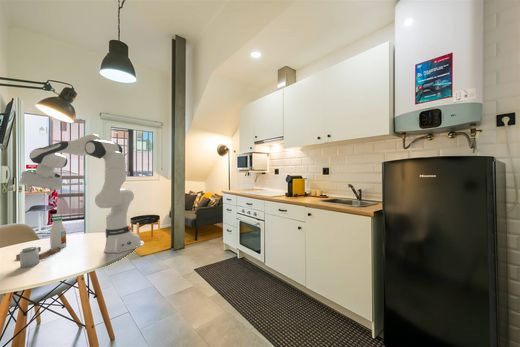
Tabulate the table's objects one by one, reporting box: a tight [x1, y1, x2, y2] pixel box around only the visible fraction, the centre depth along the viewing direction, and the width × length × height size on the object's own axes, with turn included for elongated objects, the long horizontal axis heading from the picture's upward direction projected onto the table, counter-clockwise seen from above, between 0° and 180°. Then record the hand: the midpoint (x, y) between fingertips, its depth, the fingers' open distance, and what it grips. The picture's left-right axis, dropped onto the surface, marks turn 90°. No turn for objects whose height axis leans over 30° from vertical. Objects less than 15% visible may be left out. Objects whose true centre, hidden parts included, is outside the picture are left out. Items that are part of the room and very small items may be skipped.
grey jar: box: [19, 246, 40, 269], centre depth 117 cm, size 7×7×9 cm
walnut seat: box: [15, 246, 61, 260], centre depth 130 cm, size 12×14×2 cm
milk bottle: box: [49, 216, 67, 250], centre depth 142 cm, size 8×8×20 cm
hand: (39, 193), depth 140 cm, fingers open, 8 cm apart
